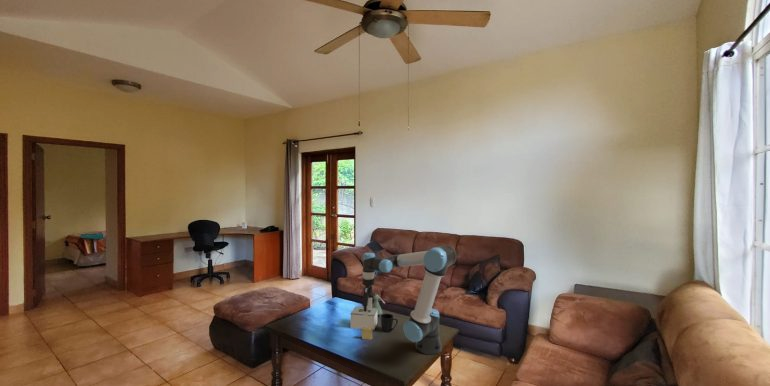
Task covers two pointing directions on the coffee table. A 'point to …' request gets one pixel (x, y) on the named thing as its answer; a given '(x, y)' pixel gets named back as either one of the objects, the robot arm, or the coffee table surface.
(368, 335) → the tall tan block
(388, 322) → the mug
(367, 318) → the box
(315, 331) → the coffee table surface
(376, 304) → the character figurine
